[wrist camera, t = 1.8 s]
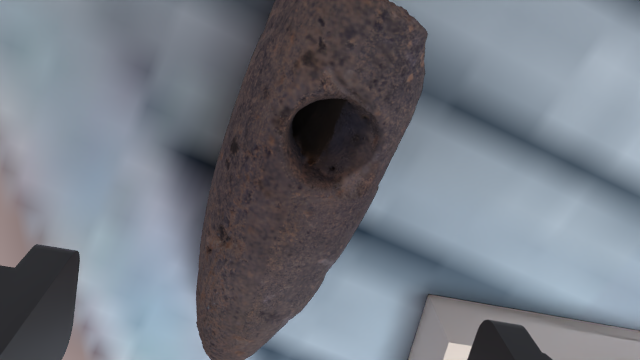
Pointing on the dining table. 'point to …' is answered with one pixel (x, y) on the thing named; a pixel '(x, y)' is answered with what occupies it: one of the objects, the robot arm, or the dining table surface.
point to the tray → (547, 331)
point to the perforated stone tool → (302, 161)
